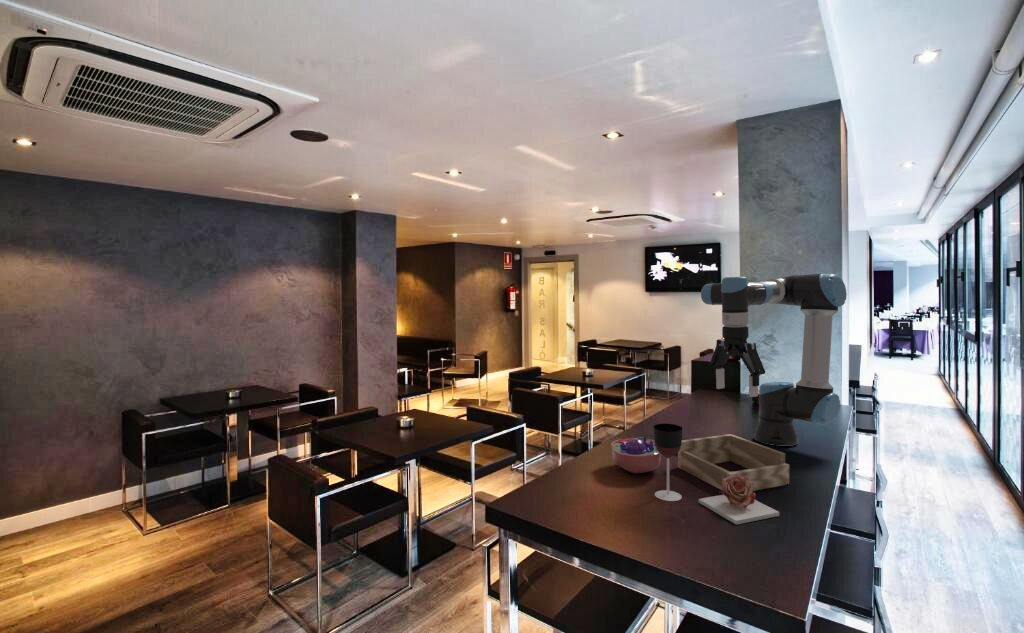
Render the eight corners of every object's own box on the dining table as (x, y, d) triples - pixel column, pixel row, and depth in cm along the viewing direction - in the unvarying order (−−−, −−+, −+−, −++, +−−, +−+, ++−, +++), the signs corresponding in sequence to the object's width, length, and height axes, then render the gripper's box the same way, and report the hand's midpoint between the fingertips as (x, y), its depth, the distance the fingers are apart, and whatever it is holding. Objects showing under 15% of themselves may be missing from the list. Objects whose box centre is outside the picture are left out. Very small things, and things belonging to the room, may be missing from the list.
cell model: (667, 463, 167) (667, 431, 167) (658, 484, 149) (658, 448, 149) (618, 457, 175) (617, 426, 174) (604, 476, 156) (604, 442, 156)
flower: (712, 490, 137) (716, 475, 133) (741, 482, 138) (745, 467, 134) (730, 519, 130) (734, 505, 126) (760, 511, 131) (765, 496, 126)
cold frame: (730, 459, 170) (730, 433, 170) (789, 484, 148) (789, 455, 147) (677, 467, 163) (677, 441, 163) (730, 494, 141) (730, 464, 140)
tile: (738, 495, 140) (738, 491, 140) (779, 515, 127) (779, 512, 127) (698, 502, 136) (698, 499, 136) (736, 524, 123) (736, 520, 123)
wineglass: (682, 491, 144) (682, 424, 143) (682, 503, 136) (682, 432, 135) (654, 488, 146) (654, 422, 146) (653, 499, 138) (652, 430, 137)
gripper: (697, 324, 163) (699, 386, 165) (758, 329, 140) (759, 401, 141) (715, 322, 166) (717, 384, 167) (777, 327, 143) (778, 398, 144)
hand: (736, 392), depth 154 cm, fingers open, 13 cm apart
